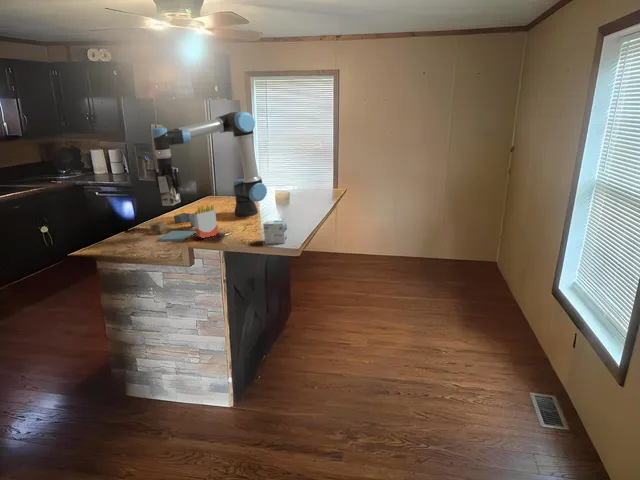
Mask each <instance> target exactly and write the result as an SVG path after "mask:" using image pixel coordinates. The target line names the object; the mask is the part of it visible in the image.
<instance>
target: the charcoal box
mask: <svg viewBox="0 0 640 480" xmlns="http://www.w3.org/2000/svg"><path fill="white" fill-rule="evenodd" d="M189 214H191V213H190V212H189V213H187V212H181V213H179V214H175V215H173V219H174V223H175V224H177V223H183V224H185V223H184V222H186V223H188V222H187V221H189V222H190V218H189Z"/></svg>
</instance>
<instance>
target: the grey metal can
mask: <svg viewBox="0 0 640 480" xmlns="http://www.w3.org/2000/svg"><path fill="white" fill-rule="evenodd" d="M194 215H195V212H193V213H190V214H189V218H190V221H189V222H190V228H191V227H195V217H194Z"/></svg>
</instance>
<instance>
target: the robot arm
mask: <svg viewBox="0 0 640 480" xmlns="http://www.w3.org/2000/svg"><path fill="white" fill-rule="evenodd" d="M255 125H256V120H255V119H254V116H253V115H252V114H251V113H249V112H248V111H247V112H246V111H233V112H229V113H226V114H222V115H220V116H216V117H215V118H214V119H211V120H206V121H203V122H202V121H201V122H197V123H193V124H189V125H185V126H184V125H183V126H182V127H181V126H179V127H177V128H173V129H167V127H155V128H153V129H152V131H151V133H152V141H153V145H154V150H155V152H154V153H155V156H156V157H155V158H157V159H156V162H157V165H158V168H155V169H153V172H154V175H155V176H154V177H155V186H156V188H159V189H160V187H159V181H158V177H159V176H164V175H173V176H171V178H172V183H173V185H174V188H173V190H174V196H175V200H178V199H179V196H178V193H179V194H180V187H181V186H182V183H181V178H180V174H179V167H174V166H173V160H172V151H171V147H170V146H177V145H178V146H179V145H185V144H189V143H191V140H192V139H195V138H200V137H203V136H207V135H211V134H212V135H213V134H216V133H220V134H223V133H233V137H234V138H235V139H236V141H237V145H238V150H239V156H240V161H241V165H242V171H243V176H244V178H240V179H235V180H234V181H233V190H234V198H235V208H234V216H235V217H243V218H244V217H251V216H254V215H257V214H258V213H259V210H258V207H257V205H256V203H255V202H261V201H263V200H264V199H265V198H266V196H267V193H268V188H267V186H266V185H265V184H264V183H263V179H262V177H261V176H260V175H259V172H258V167H257V161H256V156H255V155H256V154H255V149H254V144H253V138H252V137H253V135H254V131H253V130H254V128H255ZM174 175H175V178H174ZM175 179H176V180H175Z"/></svg>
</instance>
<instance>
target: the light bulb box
mask: <svg viewBox="0 0 640 480" xmlns="http://www.w3.org/2000/svg"><path fill="white" fill-rule="evenodd" d="M262 226H263V234H264V242H265V243H264V244H266V245H269V244H272V245H273V244H274V245H275V244H277V245H278V244H286V243H287V242H288V240H289V237H288V227H287V219H282V220H281V219H277V220H266V221H264V222H263V223H262Z"/></svg>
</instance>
